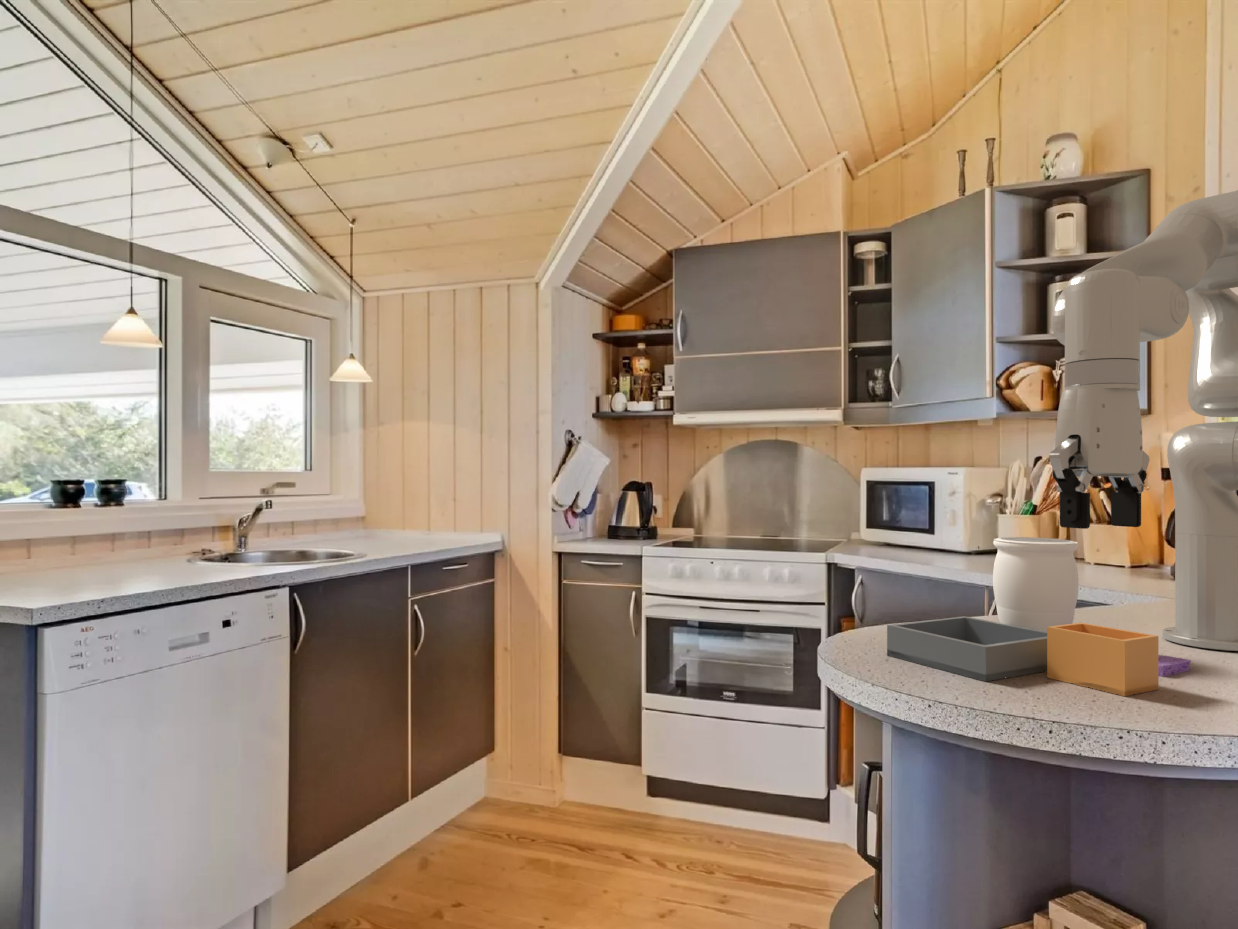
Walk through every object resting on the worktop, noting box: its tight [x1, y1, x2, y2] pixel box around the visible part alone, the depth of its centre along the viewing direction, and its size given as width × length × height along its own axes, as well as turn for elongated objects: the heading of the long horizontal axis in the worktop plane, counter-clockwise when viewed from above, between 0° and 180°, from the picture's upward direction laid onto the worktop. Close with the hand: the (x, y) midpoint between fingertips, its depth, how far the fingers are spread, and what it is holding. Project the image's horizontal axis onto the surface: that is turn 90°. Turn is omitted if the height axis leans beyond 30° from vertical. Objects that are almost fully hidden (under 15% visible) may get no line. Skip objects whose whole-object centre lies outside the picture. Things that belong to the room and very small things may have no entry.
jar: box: [992, 536, 1080, 632], centre depth 112 cm, size 11×10×15 cm
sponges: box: [1158, 654, 1192, 678], centre depth 104 cm, size 7×13×2 cm, turn 30°
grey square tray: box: [886, 615, 1047, 682], centre depth 104 cm, size 15×15×4 cm
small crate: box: [1046, 622, 1159, 697], centre depth 93 cm, size 6×9×6 cm
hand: (1100, 527), depth 93 cm, fingers open, 9 cm apart
